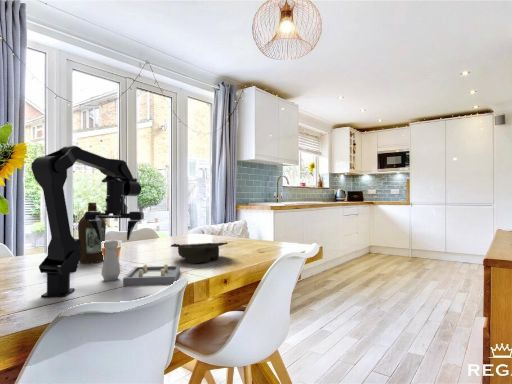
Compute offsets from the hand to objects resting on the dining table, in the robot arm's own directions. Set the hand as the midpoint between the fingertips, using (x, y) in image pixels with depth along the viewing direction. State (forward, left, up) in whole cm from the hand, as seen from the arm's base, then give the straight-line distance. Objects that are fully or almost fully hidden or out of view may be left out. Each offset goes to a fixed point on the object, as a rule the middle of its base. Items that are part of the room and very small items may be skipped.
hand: (114, 240), depth 115 cm
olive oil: (+27, +17, -13) cm, 34 cm away
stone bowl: (+26, -28, -13) cm, 40 cm away
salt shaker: (-4, 0, -13) cm, 13 cm away
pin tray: (-4, -14, -13) cm, 19 cm away
